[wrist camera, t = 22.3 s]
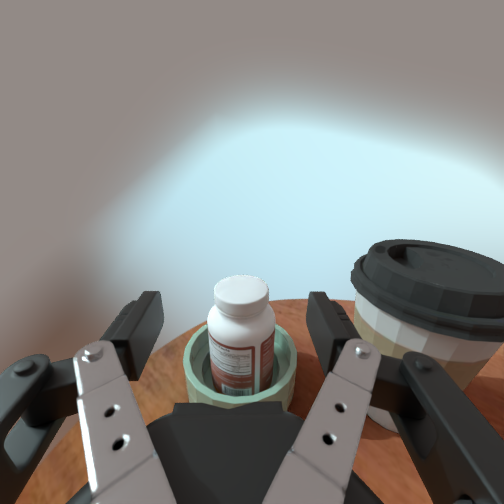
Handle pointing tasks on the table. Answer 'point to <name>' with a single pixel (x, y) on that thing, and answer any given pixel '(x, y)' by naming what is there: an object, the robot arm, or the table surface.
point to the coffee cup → (429, 306)
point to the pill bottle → (241, 336)
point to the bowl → (204, 392)
